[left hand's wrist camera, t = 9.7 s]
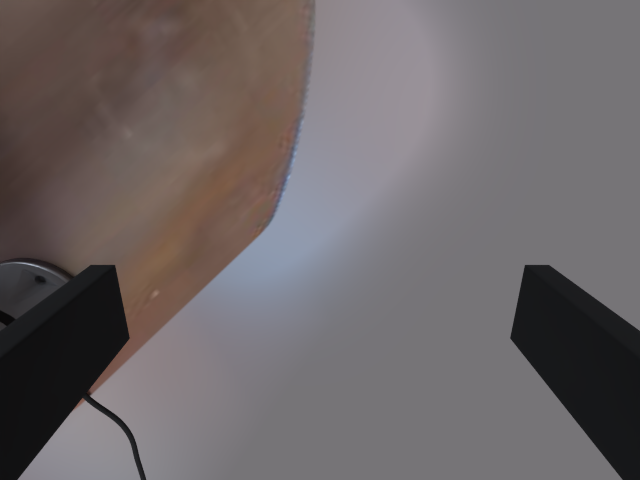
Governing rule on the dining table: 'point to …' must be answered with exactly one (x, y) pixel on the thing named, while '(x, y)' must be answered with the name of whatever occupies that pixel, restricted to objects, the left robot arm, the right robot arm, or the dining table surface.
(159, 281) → the dining table surface
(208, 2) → the dining table surface
